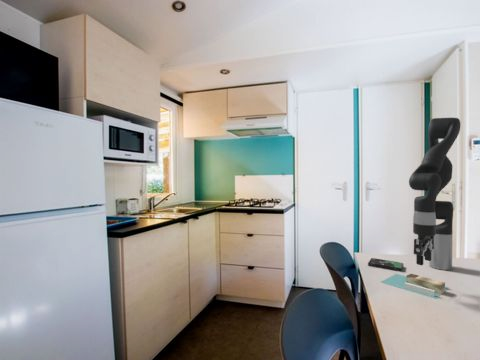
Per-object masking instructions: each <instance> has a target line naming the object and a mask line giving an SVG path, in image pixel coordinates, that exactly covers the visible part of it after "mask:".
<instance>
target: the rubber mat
mask: <svg viewBox="0 0 480 360" xmlns="http://www.w3.org/2000/svg"><path fill="white" fill-rule="evenodd" d="M406 276H407V275H402V274H399V273H394V275H391V276H389V277H387V278H385V279H384V280H382V281H381V280H380V283H381V284H385V285H388V286H392V287H396V288H398V289H402V290H405V291H409V292H411V293H415V294H418V295H422V296H425V297H428V298H431V299H435V300H436V299H438V298H439V297H440V296H441V295H442V294H444V293H445V292H446V291H448V290H449V289H450V287H447V286H445V292H443V293H442V294H438V293H435V296H434V297H433V296H430V295H427V294H423V293H420V292H416V291H413V290H410V289H406V288H405V283H406Z"/></svg>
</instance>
